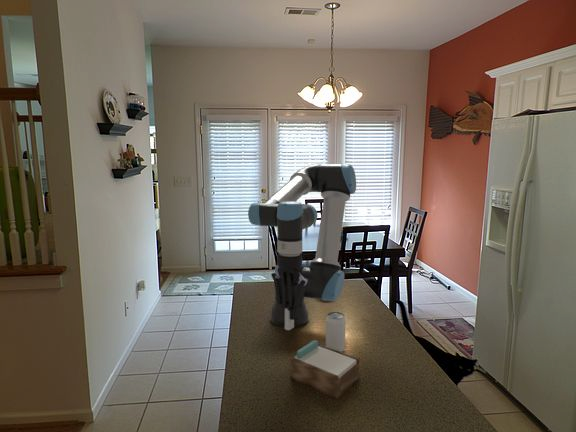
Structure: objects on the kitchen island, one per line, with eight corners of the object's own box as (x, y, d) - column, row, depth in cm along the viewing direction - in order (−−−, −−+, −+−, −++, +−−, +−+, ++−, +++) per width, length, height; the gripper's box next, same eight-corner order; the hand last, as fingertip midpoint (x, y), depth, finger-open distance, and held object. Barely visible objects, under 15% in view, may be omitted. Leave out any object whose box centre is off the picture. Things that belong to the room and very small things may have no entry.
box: (290, 377, 114) (290, 357, 113) (313, 361, 124) (314, 341, 123) (337, 399, 105) (337, 376, 104) (358, 379, 114) (359, 358, 113)
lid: (293, 361, 114) (293, 351, 114) (313, 347, 122) (314, 338, 121) (337, 379, 105) (337, 368, 104) (356, 363, 113) (356, 353, 112)
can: (346, 346, 134) (347, 312, 132) (342, 355, 127) (343, 320, 126) (328, 343, 136) (328, 310, 134) (323, 351, 130) (324, 317, 128)
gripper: (265, 252, 118) (265, 326, 121) (299, 259, 110) (298, 338, 113) (281, 248, 124) (281, 319, 127) (314, 254, 115) (313, 330, 119)
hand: (289, 328), depth 120 cm, fingers closed
